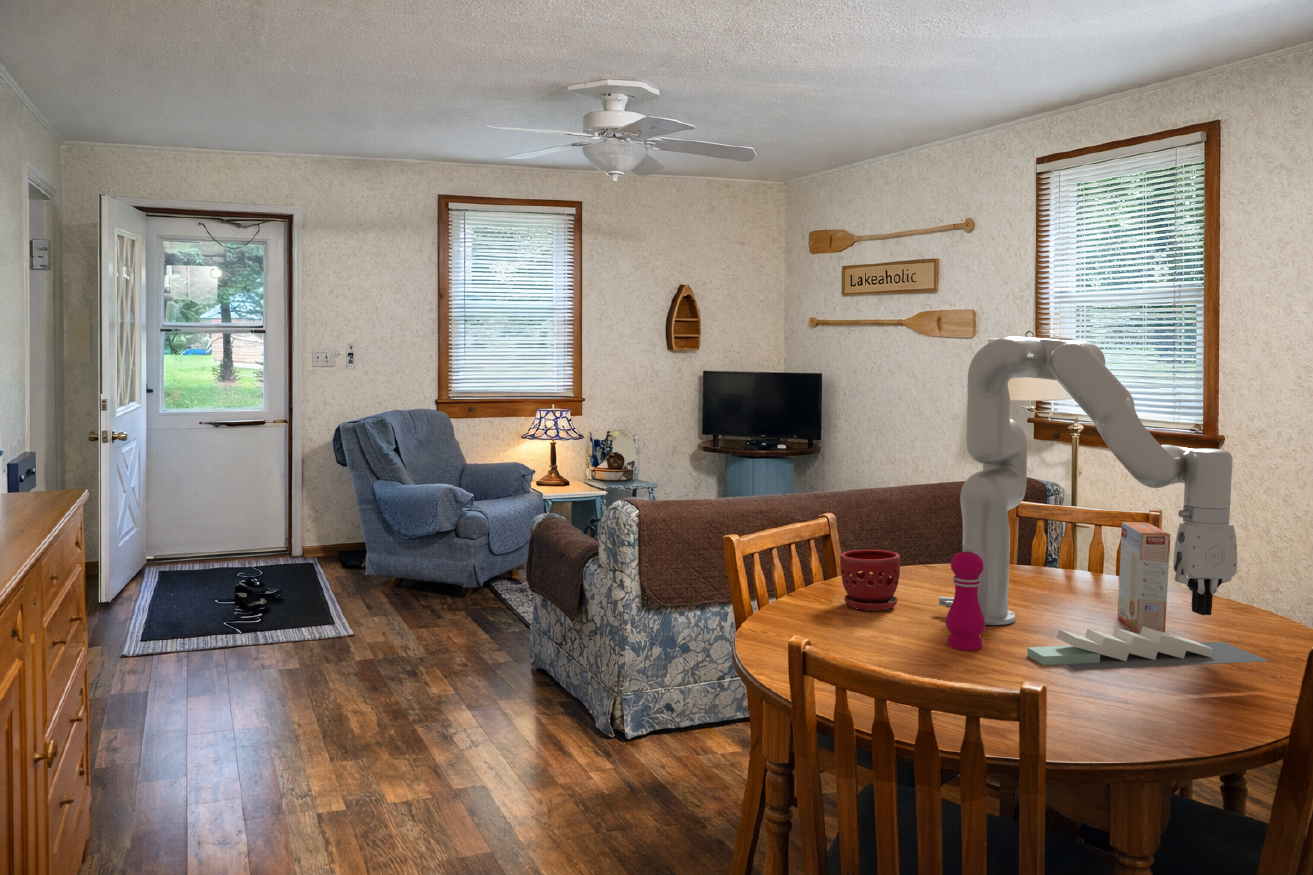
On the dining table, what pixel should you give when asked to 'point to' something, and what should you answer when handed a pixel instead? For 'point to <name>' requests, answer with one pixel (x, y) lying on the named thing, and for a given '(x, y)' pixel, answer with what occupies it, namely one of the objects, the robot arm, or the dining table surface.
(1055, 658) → the sage domino
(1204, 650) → the domino
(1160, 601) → the cracker box
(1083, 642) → the domino
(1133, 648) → the domino
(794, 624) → the dining table surface
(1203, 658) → the domino mat
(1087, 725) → the dining table surface
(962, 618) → the pepper mill
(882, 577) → the plant pot
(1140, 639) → the domino
